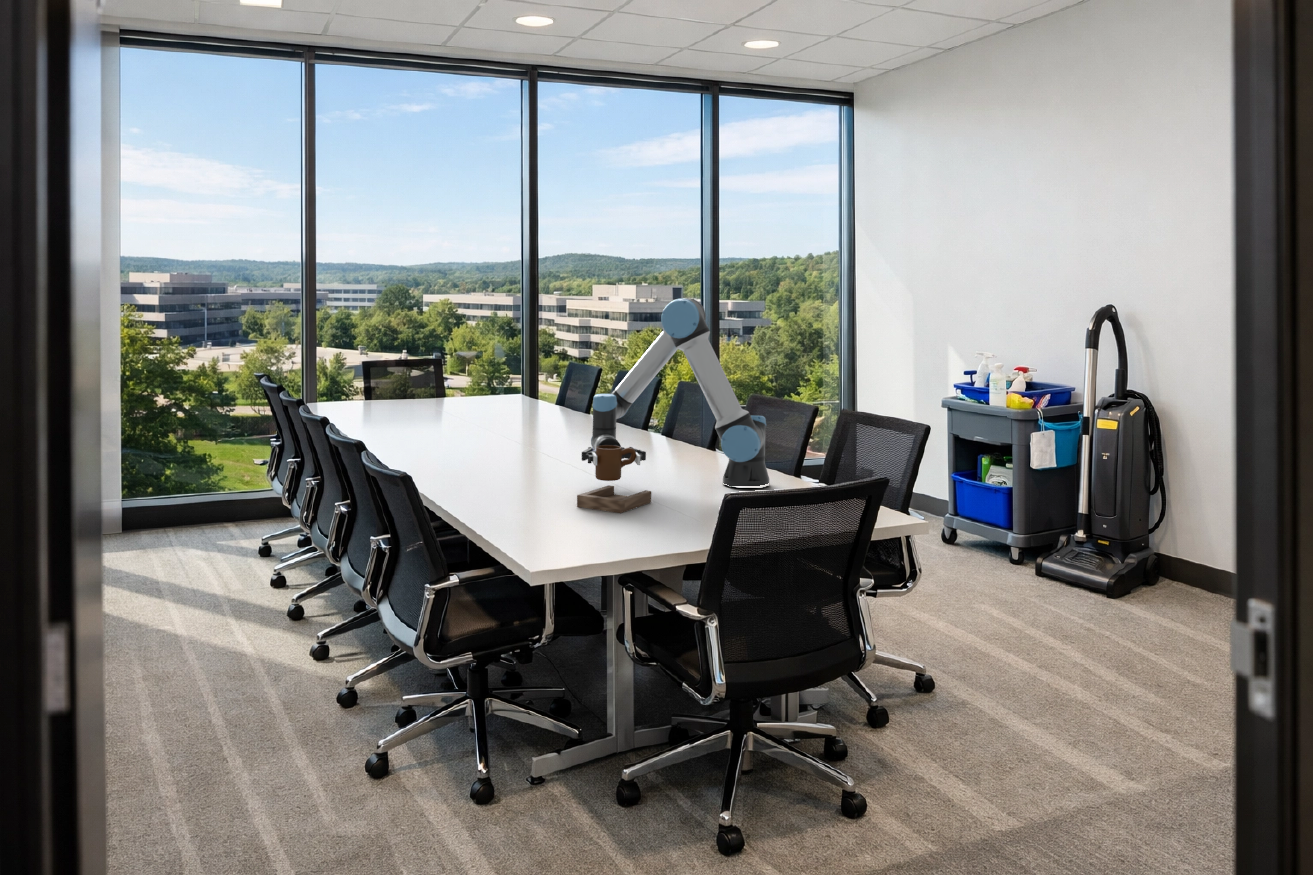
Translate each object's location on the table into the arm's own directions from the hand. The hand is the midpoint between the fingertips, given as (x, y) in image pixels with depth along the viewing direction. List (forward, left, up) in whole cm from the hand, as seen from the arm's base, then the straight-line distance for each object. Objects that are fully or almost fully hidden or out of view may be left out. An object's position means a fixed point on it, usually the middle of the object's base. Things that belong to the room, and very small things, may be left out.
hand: (617, 460), depth 290 cm
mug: (+2, -3, -6) cm, 7 cm away
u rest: (+2, -2, -14) cm, 14 cm away
